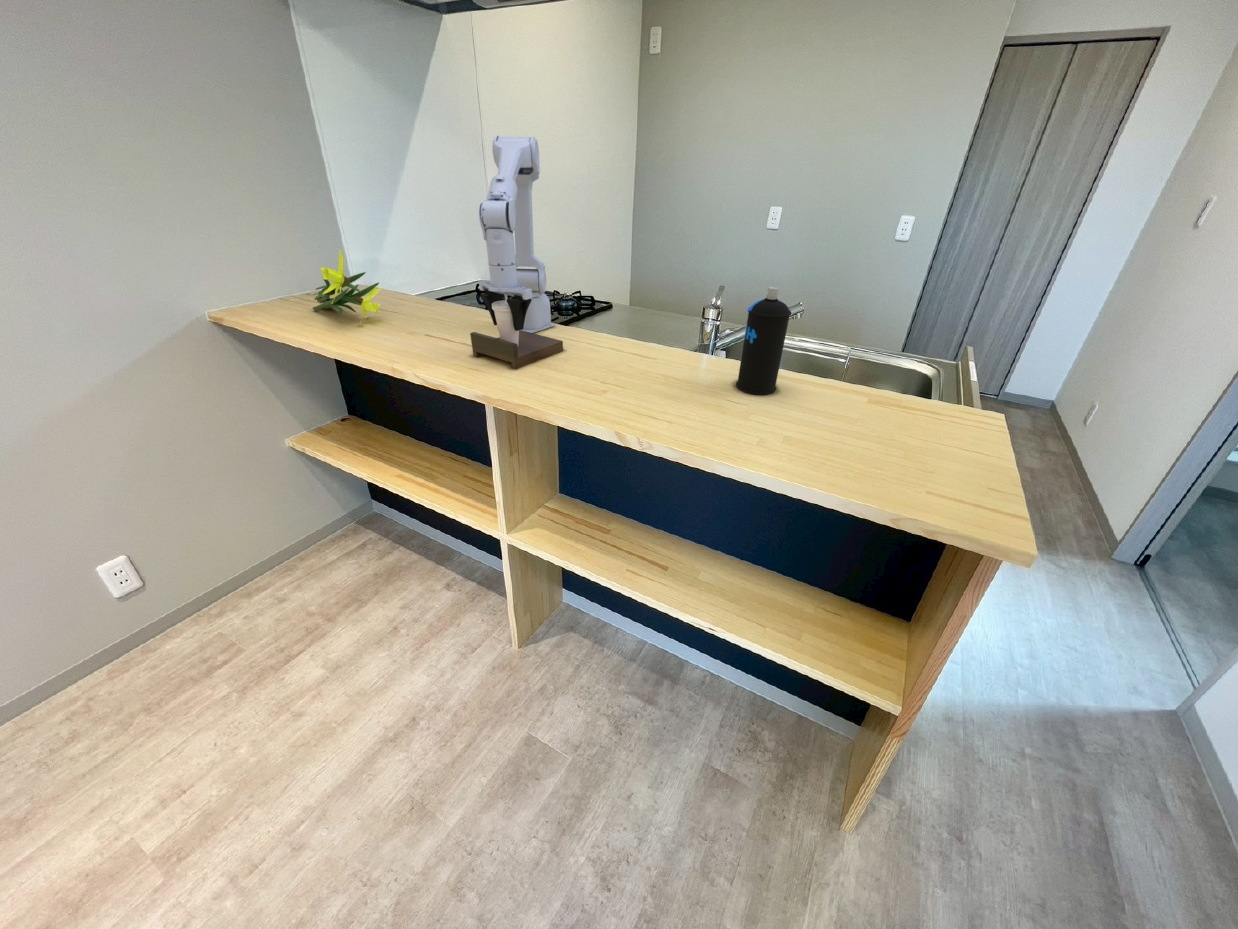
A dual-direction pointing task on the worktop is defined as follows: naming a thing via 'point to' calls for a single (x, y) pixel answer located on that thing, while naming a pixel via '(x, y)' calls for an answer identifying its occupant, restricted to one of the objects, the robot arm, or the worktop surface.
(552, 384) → the worktop surface
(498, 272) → the robot arm
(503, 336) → the smoothie
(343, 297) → the daffodil flowers
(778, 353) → the aerosol can
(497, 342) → the shelf
